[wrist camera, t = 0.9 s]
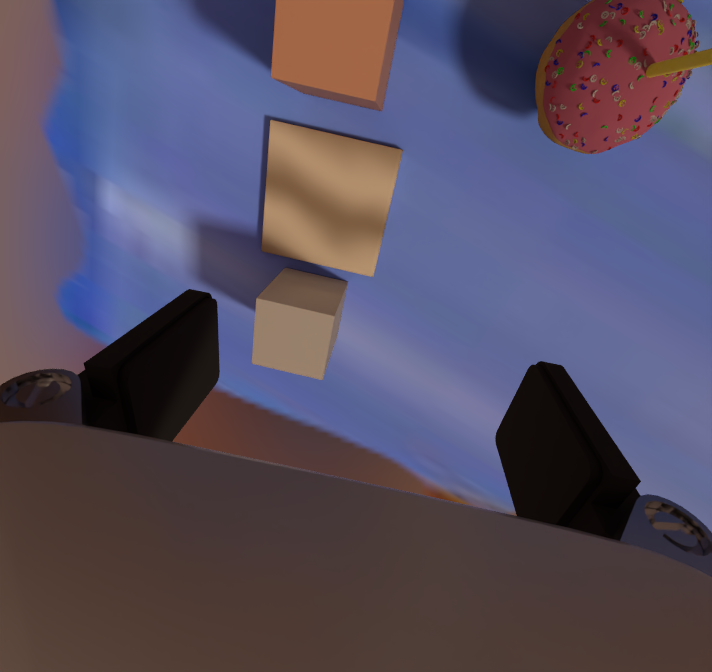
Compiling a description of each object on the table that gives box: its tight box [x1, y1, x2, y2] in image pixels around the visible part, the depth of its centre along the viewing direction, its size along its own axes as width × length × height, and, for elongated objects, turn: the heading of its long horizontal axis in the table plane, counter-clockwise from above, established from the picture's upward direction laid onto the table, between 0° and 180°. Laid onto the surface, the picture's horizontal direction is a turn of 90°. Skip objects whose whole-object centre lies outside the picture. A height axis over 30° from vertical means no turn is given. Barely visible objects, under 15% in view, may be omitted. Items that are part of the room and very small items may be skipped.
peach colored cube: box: [271, 0, 403, 111], centre depth 23 cm, size 6×6×8 cm
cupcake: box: [535, 0, 712, 154], centre depth 21 cm, size 9×8×12 cm
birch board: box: [261, 120, 403, 277], centre depth 32 cm, size 11×11×1 cm
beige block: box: [252, 267, 348, 380], centre depth 34 cm, size 6×6×8 cm
